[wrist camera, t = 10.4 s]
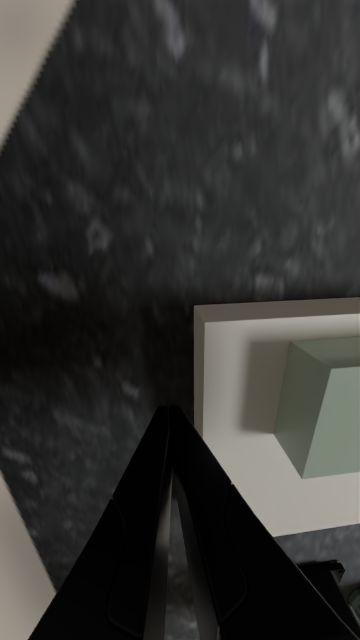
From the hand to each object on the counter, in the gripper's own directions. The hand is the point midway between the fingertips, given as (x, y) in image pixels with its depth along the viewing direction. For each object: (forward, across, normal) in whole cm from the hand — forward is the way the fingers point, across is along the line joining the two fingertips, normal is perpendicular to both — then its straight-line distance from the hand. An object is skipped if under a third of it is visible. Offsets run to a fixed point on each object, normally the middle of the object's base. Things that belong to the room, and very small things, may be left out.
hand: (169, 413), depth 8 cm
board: (+3, -8, +4) cm, 9 cm away
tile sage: (+1, -8, 0) cm, 8 cm away
